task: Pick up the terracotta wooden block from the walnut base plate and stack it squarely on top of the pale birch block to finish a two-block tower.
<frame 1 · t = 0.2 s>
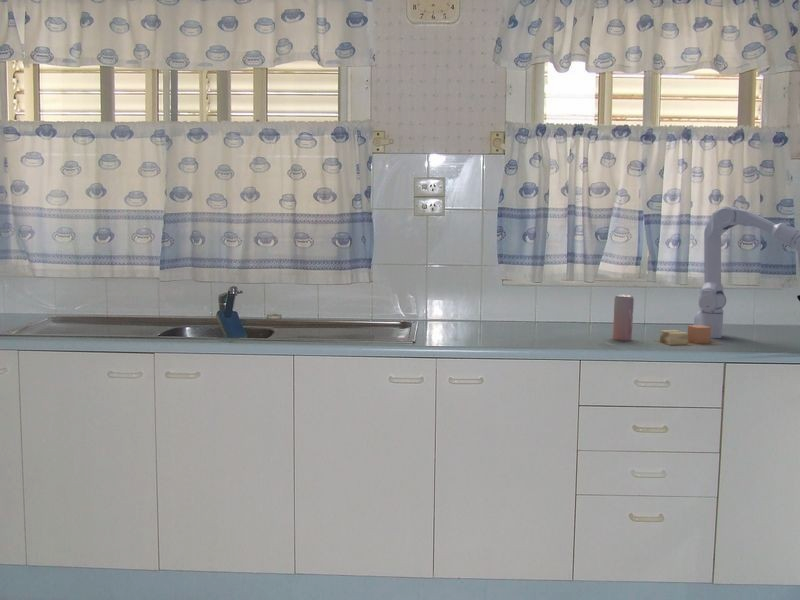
birch block: (673, 342, 263), point 1 cm above the table, touching base plate
beverage can: (622, 342, 269), on the table
base plate: (687, 344, 264), on the table
terracotta block: (698, 341, 265), point 1 cm above the table, touching base plate
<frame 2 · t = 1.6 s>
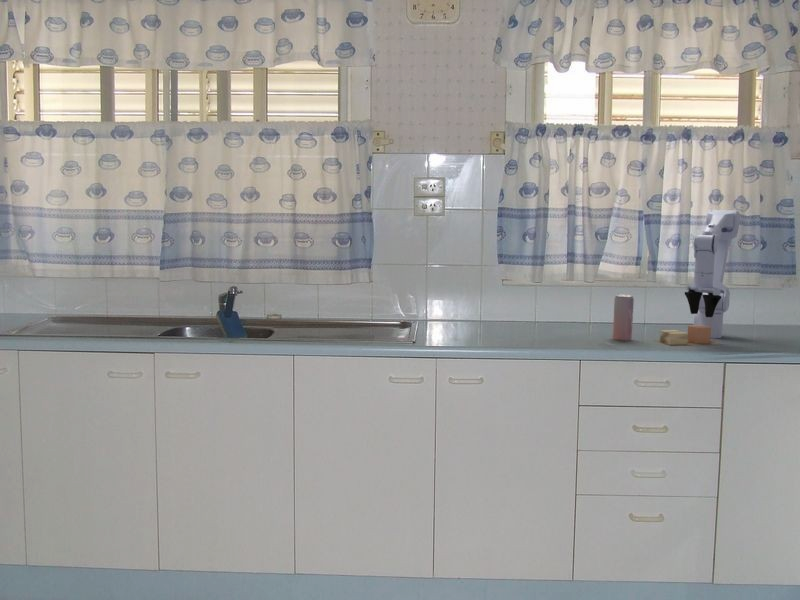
hand: (701, 315, 264), 9 cm above the table, tool pointing down, fingers open, 7 cm apart
nothing on the table moved.
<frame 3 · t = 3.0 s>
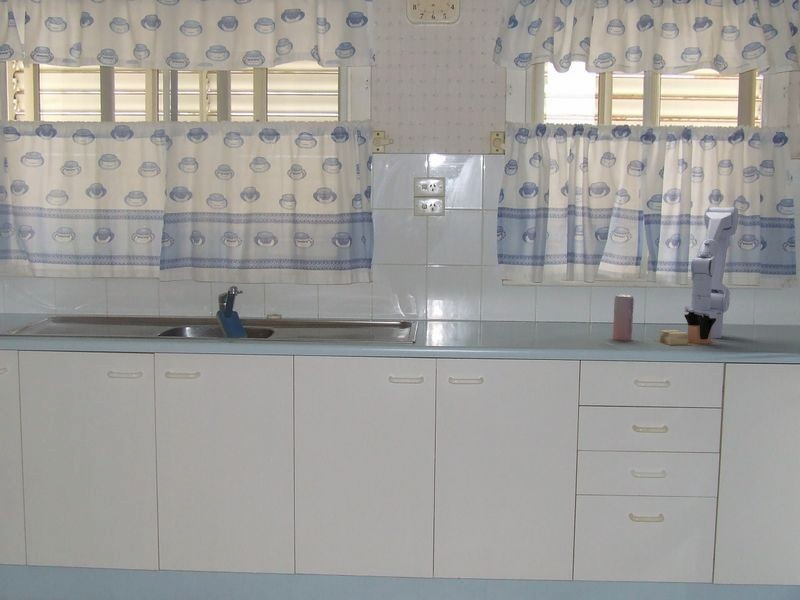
hand: (698, 337, 265), 2 cm above the table, tool pointing down, fingers closed on terracotta block, 5 cm apart
terracotta block: (698, 341, 265), point 1 cm above the table, touching base plate, gripper
everything else where it was.
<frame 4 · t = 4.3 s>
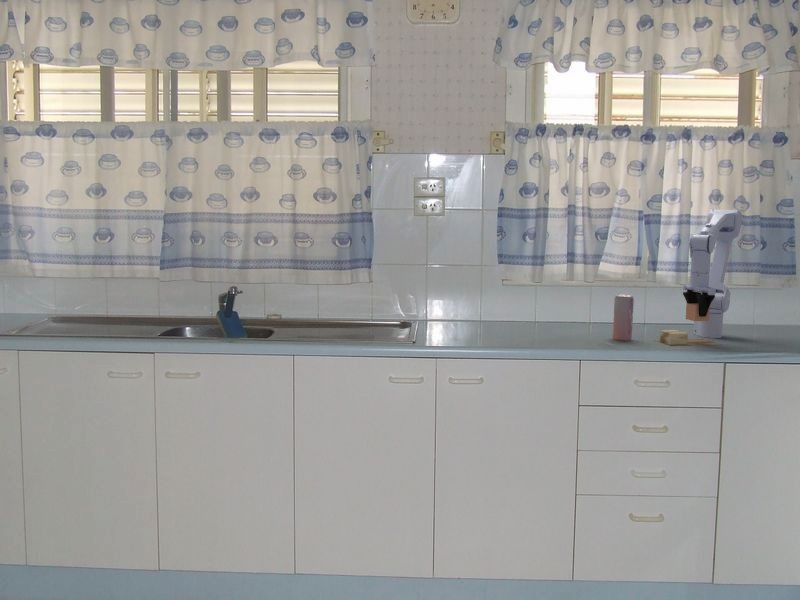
hand: (697, 315, 264), 9 cm above the table, tool pointing down, fingers closed on terracotta block, 5 cm apart
terracotta block: (697, 320, 264), point 8 cm above the table, touching gripper
everything else where it was.
when the fingers open (7 cm above the table, at t = 5.9 s): terracotta block drops 1 cm, resting on birch block.
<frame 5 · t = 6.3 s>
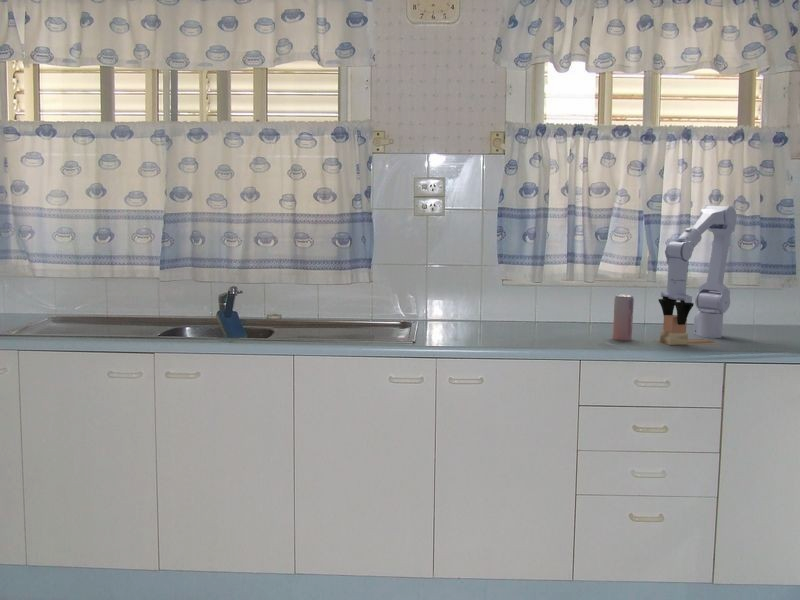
hand: (674, 322, 262), 7 cm above the table, tool pointing down, fingers open, 7 cm apart
birch block: (673, 342, 263), point 1 cm above the table, touching base plate, terracotta block
terracotta block: (674, 331, 263), point 4 cm above the table, touching birch block
everything else where it was.
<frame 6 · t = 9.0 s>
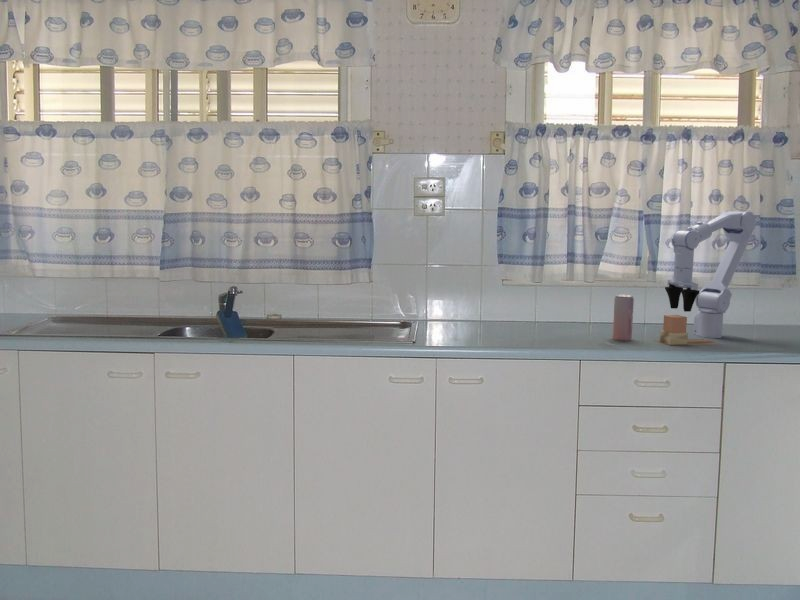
hand: (680, 309, 269), 10 cm above the table, tool pointing down, fingers open, 7 cm apart
nothing on the table moved.
at the end: terracotta block 0.2 cm off-centre on the birch block, point 3.5 cm above the birch block's base; terracotta block tilted 0°; the gripper is holding nothing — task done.
